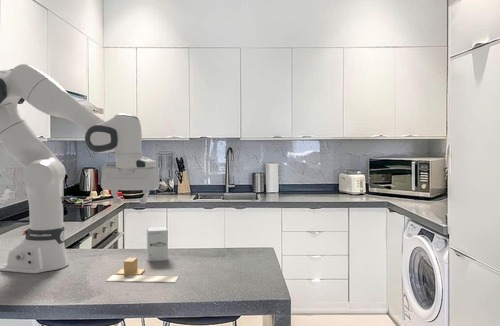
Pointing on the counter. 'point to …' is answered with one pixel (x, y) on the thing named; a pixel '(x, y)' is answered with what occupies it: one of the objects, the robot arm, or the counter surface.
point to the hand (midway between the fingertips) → (130, 203)
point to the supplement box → (157, 244)
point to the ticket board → (143, 278)
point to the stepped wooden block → (130, 268)
